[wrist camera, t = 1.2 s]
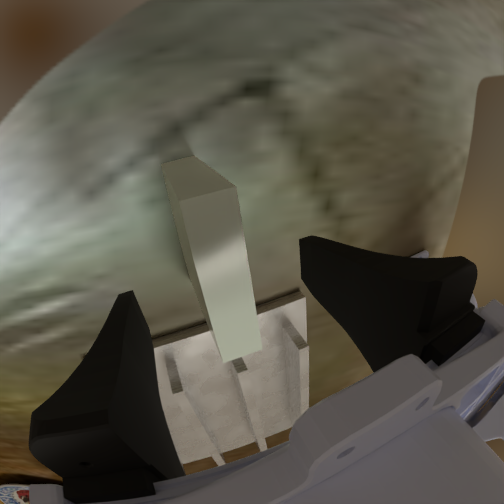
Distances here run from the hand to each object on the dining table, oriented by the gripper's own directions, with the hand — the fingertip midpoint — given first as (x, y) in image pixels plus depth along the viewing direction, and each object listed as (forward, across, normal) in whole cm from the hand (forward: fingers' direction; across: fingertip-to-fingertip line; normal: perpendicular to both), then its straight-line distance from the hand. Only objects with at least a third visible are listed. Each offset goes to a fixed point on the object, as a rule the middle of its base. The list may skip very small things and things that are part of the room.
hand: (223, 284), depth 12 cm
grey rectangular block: (+8, 0, 0) cm, 8 cm away
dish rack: (+8, +2, +18) cm, 20 cm away
